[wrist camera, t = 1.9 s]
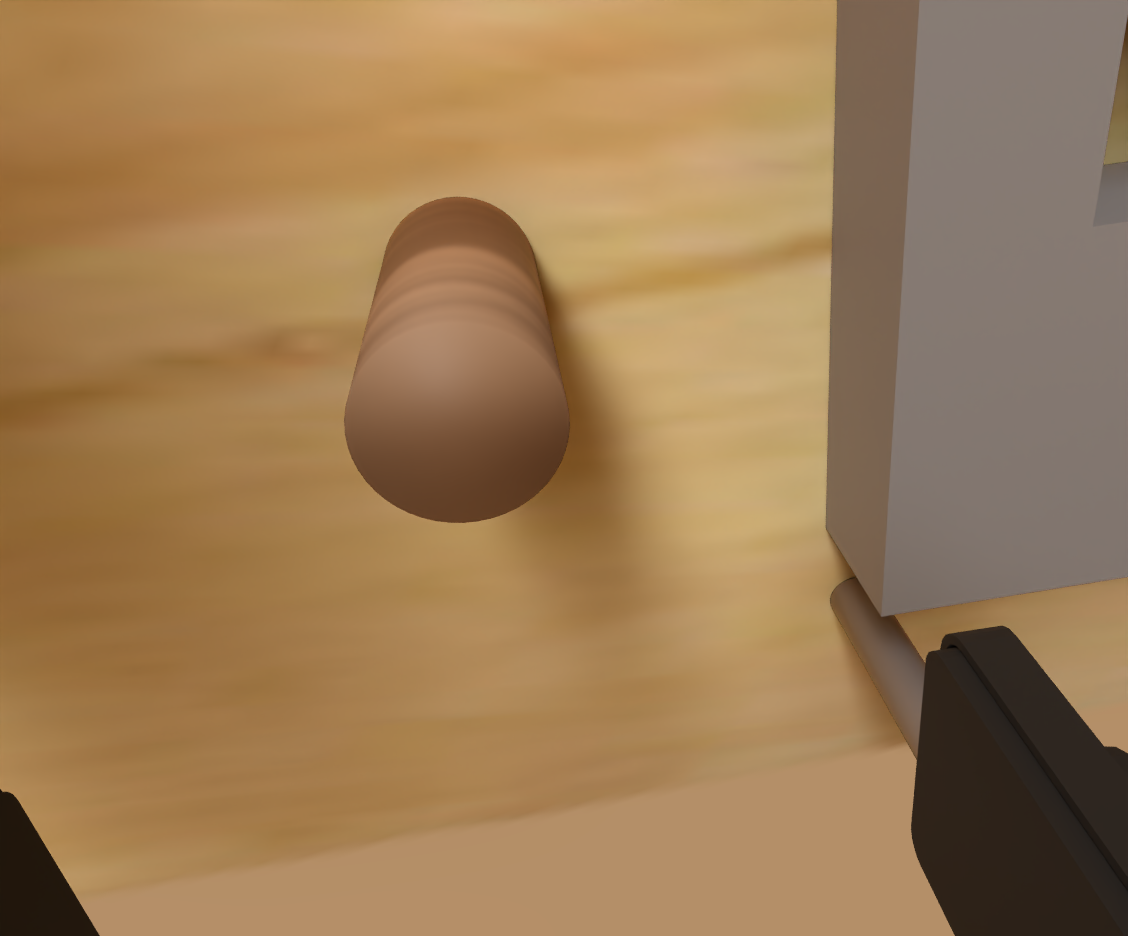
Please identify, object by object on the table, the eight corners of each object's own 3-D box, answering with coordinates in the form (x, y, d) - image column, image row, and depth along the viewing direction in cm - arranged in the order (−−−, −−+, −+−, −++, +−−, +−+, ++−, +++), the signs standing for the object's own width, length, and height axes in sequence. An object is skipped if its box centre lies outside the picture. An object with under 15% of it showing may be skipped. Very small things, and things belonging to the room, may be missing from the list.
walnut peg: (367, 209, 23) (318, 342, 15) (524, 185, 23) (554, 306, 16) (400, 355, 25) (372, 537, 17) (545, 333, 25) (581, 504, 18)
